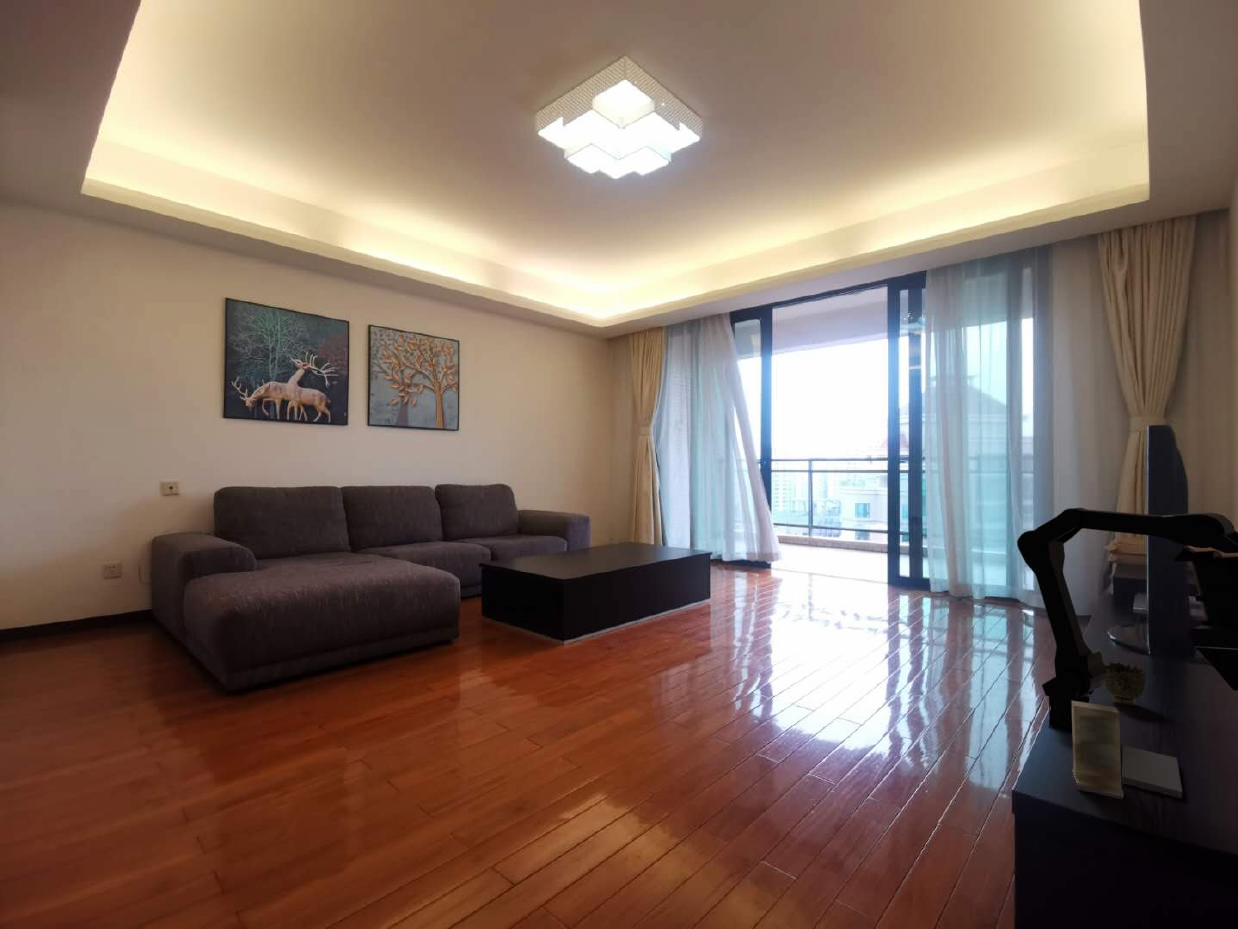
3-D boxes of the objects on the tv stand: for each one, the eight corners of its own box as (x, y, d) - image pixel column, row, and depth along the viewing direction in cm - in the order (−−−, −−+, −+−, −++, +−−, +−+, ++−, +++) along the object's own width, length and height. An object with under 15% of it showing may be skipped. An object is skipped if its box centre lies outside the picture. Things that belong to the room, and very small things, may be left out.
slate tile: (1122, 783, 92) (1121, 776, 92) (1122, 752, 103) (1122, 745, 103) (1182, 800, 88) (1182, 792, 88) (1176, 765, 98) (1176, 758, 98)
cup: (1124, 696, 128) (1123, 661, 128) (1156, 710, 121) (1155, 672, 121) (1092, 697, 128) (1091, 661, 128) (1123, 711, 121) (1121, 673, 121)
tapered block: (1077, 790, 91) (1075, 708, 91) (1072, 776, 95) (1070, 697, 95) (1123, 800, 88) (1121, 715, 88) (1116, 785, 92) (1113, 704, 92)
